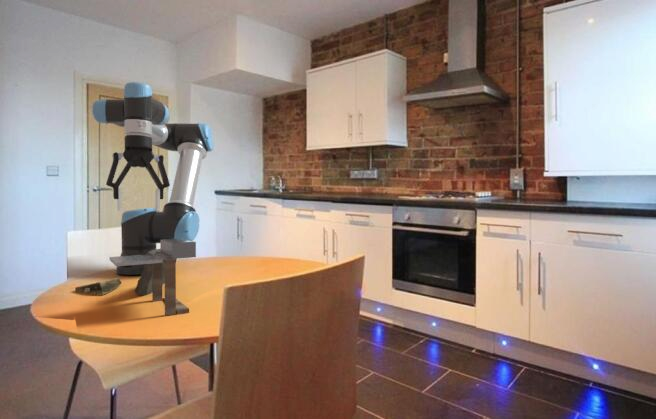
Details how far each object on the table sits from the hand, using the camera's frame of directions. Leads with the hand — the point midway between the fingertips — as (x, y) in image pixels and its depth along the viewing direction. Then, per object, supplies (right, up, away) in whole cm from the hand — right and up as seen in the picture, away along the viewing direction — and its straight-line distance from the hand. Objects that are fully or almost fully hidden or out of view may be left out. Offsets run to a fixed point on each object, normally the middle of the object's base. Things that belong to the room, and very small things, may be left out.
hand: (139, 210), depth 121 cm
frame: (+14, -26, -12) cm, 32 cm away
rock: (-18, -28, +2) cm, 33 cm away
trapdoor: (+11, -13, -15) cm, 22 cm away
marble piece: (+3, -26, +2) cm, 26 cm away
